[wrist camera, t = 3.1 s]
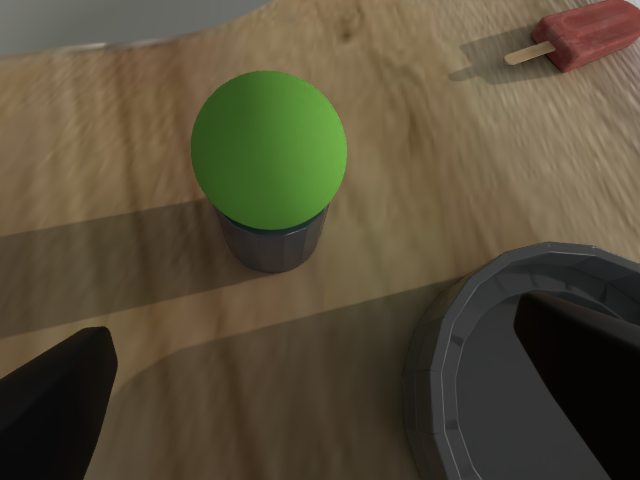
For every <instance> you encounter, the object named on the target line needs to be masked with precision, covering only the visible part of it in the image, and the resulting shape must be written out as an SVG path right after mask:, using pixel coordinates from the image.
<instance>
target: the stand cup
mask: <svg viewBox="0 0 640 480" xmlns="http://www.w3.org/2000/svg"><path fill="white" fill-rule="evenodd" d="M329 203H330V202H329ZM329 203H328V204H327V205H326V206H325V208H324V209H323V210H322V211H320V212H319V213H318V214H317V215H315V216H314V217H312V218H311V219H309V220H307V221H305V222H303V223H301V224H299V225H296V226H293V227H290V228H285V229H278V230H265V229H257V228H252V227H249V226H246V225H243V224H241V223H239V222H237V221H234V220H232V219H231V218H229V217H228V216H226V215H224V214H223V213H222V212H221V211H220V210H218V209H217V208H216V207H215V206H214V207H215V210H216V213H217V215H218V218H219V221H220V224H221V226H222V229H223V232H224V235H225V237H226V240H227V243H228V245H229V248H230V249H231V251H232V252H233V254H234V255H235V256H236V258H237V259H238V260H239V261H241V262H242V263H243V264H244V265H246V266H248V267H249V268H252V269H254V270H257V271H260V272H265V273H280V272H285V271H289V270H292V269H294V268H296V267H298V266H299V265H301V264H302V263H304V262H305V261H306V260H307V259H308V258H309V257H310V256H311V254H312V253H313V252H314V250H315V248H316V246H317V243H318V240H319V238H320V235H321V232H322V229H323V225H324V221H325V218H326V214H327V211H328V207H329Z"/></svg>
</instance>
